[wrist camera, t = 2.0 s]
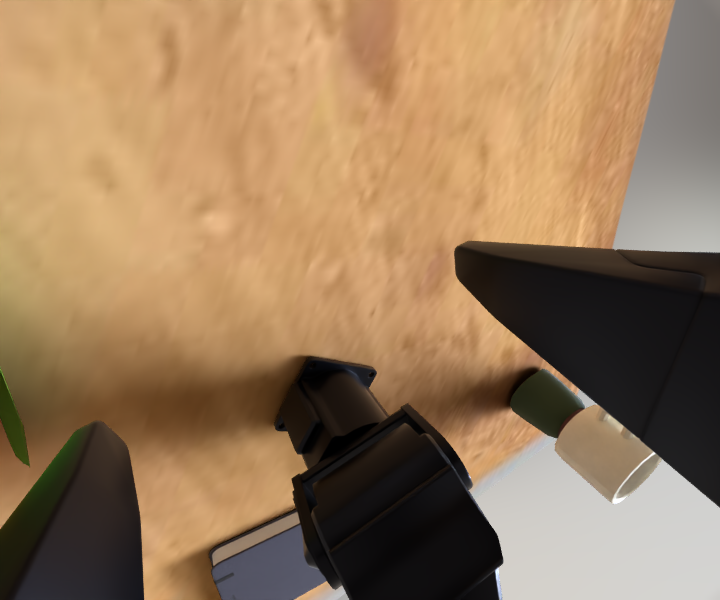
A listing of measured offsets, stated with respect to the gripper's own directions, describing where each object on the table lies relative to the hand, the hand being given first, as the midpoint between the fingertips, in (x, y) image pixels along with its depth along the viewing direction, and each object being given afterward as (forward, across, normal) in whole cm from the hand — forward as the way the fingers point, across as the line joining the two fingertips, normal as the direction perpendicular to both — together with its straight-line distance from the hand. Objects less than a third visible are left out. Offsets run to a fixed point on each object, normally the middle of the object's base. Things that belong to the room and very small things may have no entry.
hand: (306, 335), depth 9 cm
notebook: (+13, +4, +35) cm, 37 cm away
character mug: (+13, -23, +32) cm, 42 cm away
